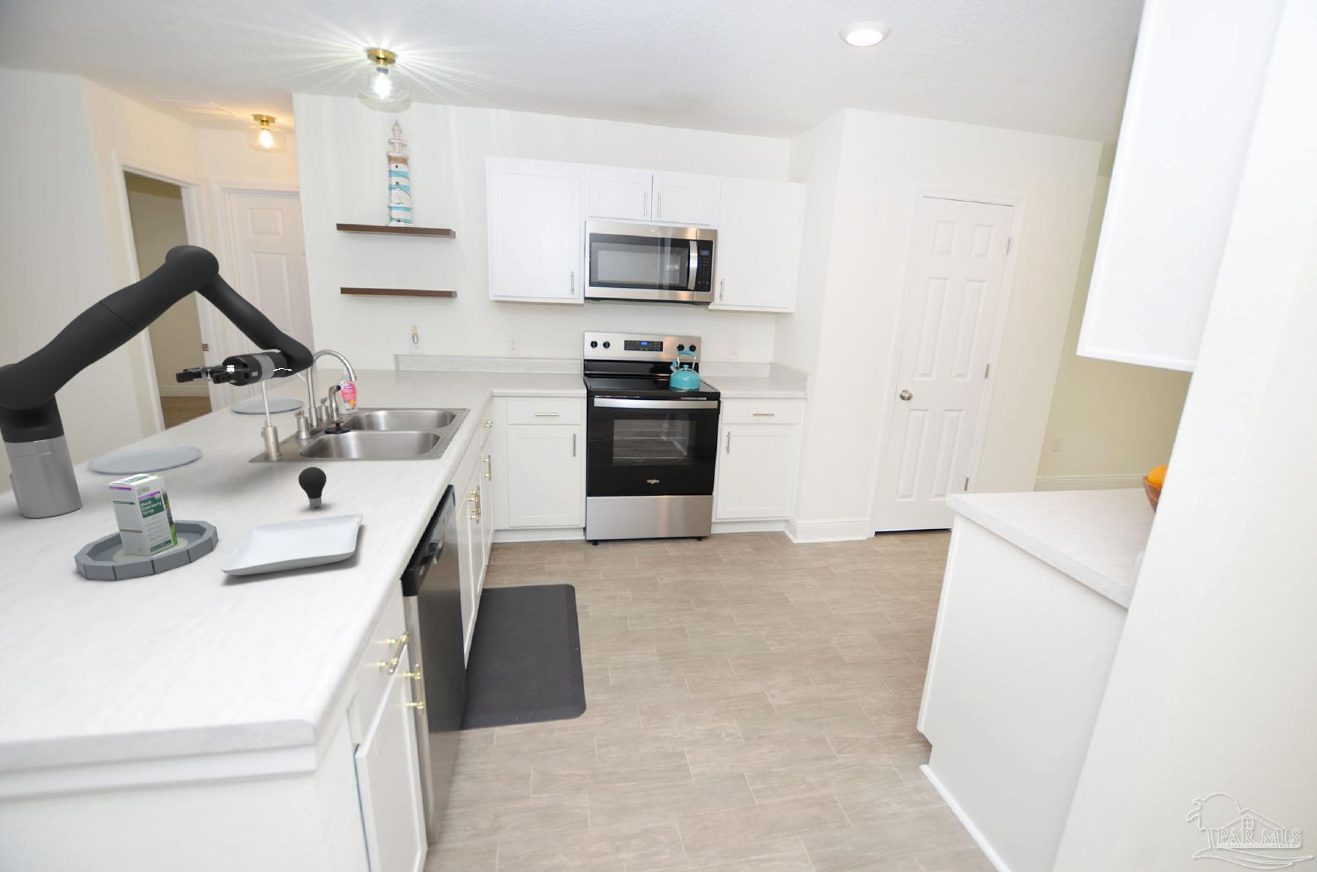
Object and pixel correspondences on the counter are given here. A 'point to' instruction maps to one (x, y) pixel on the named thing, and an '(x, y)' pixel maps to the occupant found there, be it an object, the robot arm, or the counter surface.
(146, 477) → the syrup box
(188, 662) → the counter surface
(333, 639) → the counter surface
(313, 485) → the light bulb
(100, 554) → the round tray
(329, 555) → the salad plate
